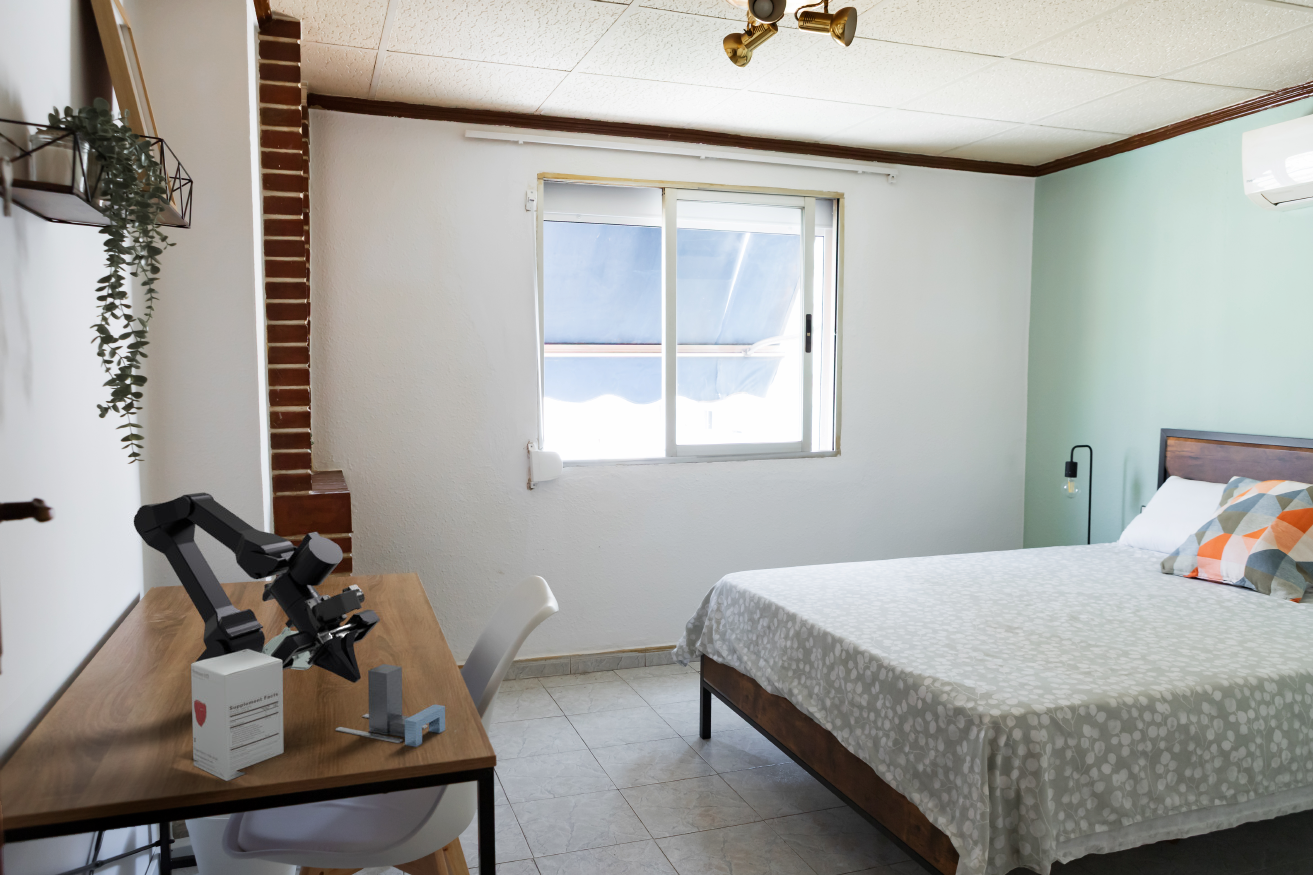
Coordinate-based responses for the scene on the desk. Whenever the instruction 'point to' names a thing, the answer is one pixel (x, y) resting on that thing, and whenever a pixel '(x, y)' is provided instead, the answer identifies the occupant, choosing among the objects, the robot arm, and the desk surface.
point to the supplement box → (236, 711)
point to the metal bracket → (299, 659)
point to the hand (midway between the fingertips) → (357, 680)
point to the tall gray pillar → (386, 700)
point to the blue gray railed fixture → (412, 726)
